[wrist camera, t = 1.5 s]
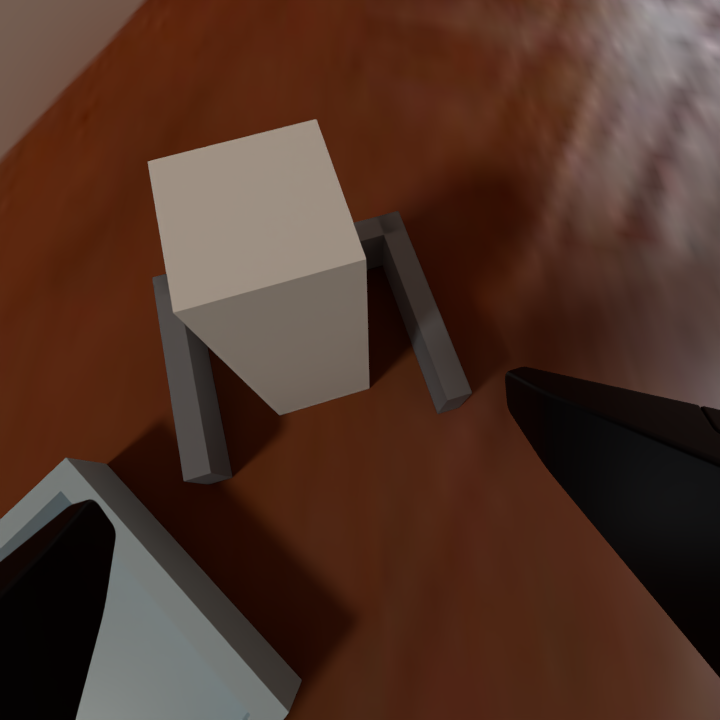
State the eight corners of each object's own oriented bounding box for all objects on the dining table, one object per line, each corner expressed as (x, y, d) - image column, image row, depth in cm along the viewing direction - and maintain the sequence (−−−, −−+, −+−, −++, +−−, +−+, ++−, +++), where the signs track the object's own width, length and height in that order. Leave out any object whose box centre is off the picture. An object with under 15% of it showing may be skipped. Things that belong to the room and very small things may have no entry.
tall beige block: (369, 388, 22) (366, 259, 11) (279, 415, 22) (173, 312, 10) (338, 292, 24) (306, 93, 13) (255, 315, 24) (142, 133, 12)
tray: (301, 680, 18) (288, 712, 15) (32, 1028, 15) (-47, 1150, 12) (106, 464, 22) (66, 457, 19) (-149, 711, 18) (-244, 749, 15)
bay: (459, 407, 22) (471, 392, 19) (209, 484, 21) (183, 481, 18) (395, 243, 25) (398, 210, 23) (177, 303, 24) (152, 277, 22)
